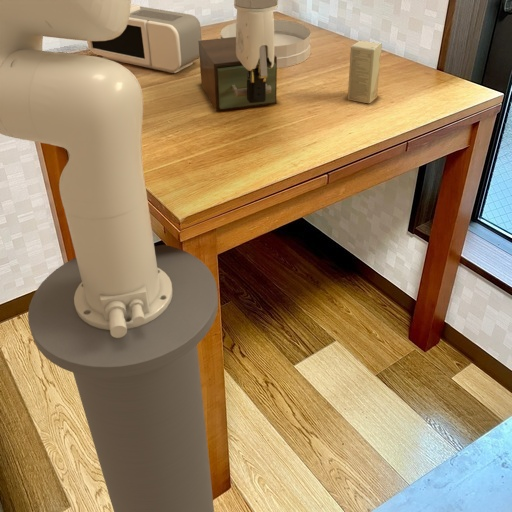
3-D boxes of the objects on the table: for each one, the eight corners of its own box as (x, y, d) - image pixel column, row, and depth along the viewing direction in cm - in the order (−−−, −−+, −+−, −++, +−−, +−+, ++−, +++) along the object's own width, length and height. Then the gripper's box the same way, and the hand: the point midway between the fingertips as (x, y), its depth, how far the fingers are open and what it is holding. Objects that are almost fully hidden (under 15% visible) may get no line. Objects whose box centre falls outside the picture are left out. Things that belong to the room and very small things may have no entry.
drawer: (281, 110, 117) (282, 71, 112) (225, 117, 115) (223, 78, 110) (257, 78, 131) (256, 42, 126) (206, 84, 128) (203, 48, 123)
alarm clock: (89, 58, 145) (80, 6, 138) (115, 46, 151) (107, -3, 144) (180, 77, 134) (175, 23, 127) (203, 64, 140) (200, 12, 133)
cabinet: (276, 103, 122) (276, 56, 116) (216, 111, 119) (213, 63, 113) (256, 78, 133) (256, 34, 127) (201, 85, 130) (198, 40, 124)
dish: (214, 41, 153) (213, 21, 150) (297, 35, 157) (298, 16, 154) (227, 72, 136) (227, 50, 133) (321, 64, 139) (322, 43, 136)
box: (377, 97, 124) (384, 43, 117) (369, 104, 121) (375, 49, 114) (354, 92, 126) (359, 39, 119) (345, 99, 123) (350, 45, 116)
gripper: (224, -11, 107) (227, 89, 118) (245, 10, 95) (246, 118, 106) (265, -13, 108) (264, 85, 119) (290, 6, 97) (287, 114, 108)
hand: (256, 100), depth 113 cm, fingers closed
